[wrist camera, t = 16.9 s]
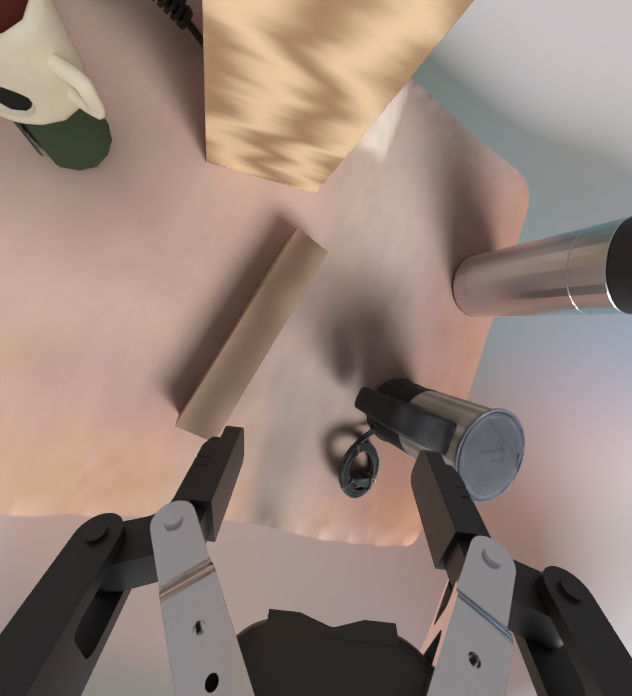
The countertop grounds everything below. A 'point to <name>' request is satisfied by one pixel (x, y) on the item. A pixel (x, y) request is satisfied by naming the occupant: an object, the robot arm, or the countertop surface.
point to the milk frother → (438, 437)
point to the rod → (251, 337)
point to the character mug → (49, 86)
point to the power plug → (181, 16)
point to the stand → (308, 77)
